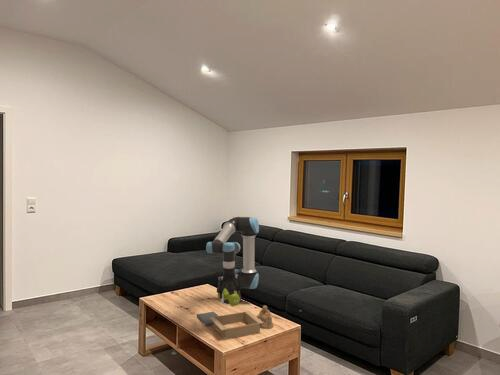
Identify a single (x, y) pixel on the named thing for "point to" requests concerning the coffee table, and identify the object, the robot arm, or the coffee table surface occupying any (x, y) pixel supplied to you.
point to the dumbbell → (230, 298)
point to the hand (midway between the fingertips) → (228, 302)
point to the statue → (265, 318)
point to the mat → (206, 318)
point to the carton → (234, 318)
